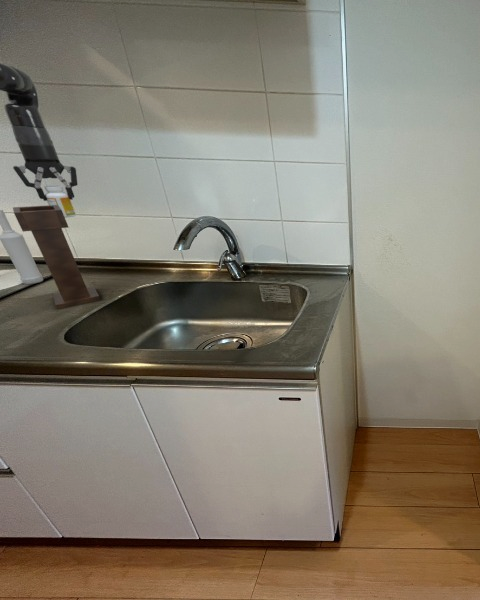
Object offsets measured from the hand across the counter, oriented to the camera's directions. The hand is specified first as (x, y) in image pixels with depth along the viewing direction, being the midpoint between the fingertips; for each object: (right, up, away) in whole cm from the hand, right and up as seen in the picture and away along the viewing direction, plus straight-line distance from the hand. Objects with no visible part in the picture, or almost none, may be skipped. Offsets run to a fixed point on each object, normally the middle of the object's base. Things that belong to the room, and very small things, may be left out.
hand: (58, 199), depth 102 cm
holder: (+8, -33, -2) cm, 34 cm away
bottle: (-17, -27, +7) cm, 33 cm away
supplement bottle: (0, -5, +2) cm, 6 cm away
